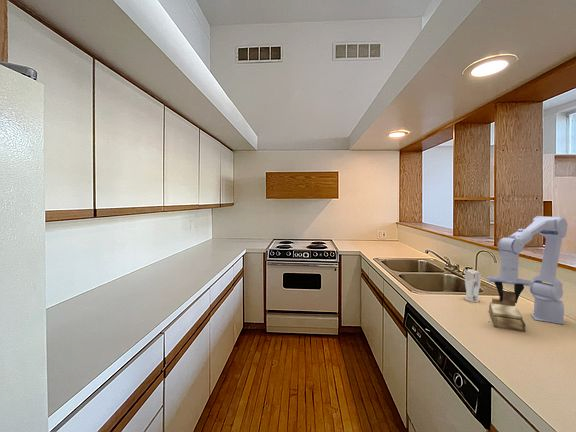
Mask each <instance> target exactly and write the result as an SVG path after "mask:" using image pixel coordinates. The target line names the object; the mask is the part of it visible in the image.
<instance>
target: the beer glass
mask: <svg viewBox="0 0 576 432" xmlns="http://www.w3.org/2000/svg"><path fill="white" fill-rule="evenodd" d="M481 278H482V275H481V271H479V270H475V269H466V270H465V272H464V285H465V292H466V293H465V299H464V300H465V301H467V302H470V303H479V302H480V298H479V297H480V296H479V292H480V288H481V284H482V283H481V281H482V279H481Z"/></svg>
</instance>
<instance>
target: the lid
mask: <svg viewBox="0 0 576 432" xmlns="http://www.w3.org/2000/svg"><path fill="white" fill-rule="evenodd" d="M489 305H490V306H491V309H492V312H493V315H497V316H503V317H510V318H517V319H523V315H522V314H521V312H520V310H519V309H518V307H517V305H516V304H515V306H511V305H503V304H502V302H501V301H500V298H495V297H494V298H493V297H492V298H491V301H490V302H489Z"/></svg>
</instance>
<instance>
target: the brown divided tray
mask: <svg viewBox="0 0 576 432" xmlns="http://www.w3.org/2000/svg"><path fill="white" fill-rule="evenodd" d="M488 313H489V315H490V318H491V322H492V325H493V327H494V328H499V329H504V330H510V331H515V332H516V331H517V332H522V333H526V323H525V320H524V319H523V318H522V319H517V318H510V317H503V316H497V315H493V312H492V309H491V306H490V304H489V305H488Z"/></svg>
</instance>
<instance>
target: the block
mask: <svg viewBox="0 0 576 432" xmlns="http://www.w3.org/2000/svg"><path fill="white" fill-rule="evenodd" d="M502 295H503V301H501V302H502V304H503V305H511V306H515V305H516V303H515V298H516V295H515V293H514V291H507V290H503V293H502Z"/></svg>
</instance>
